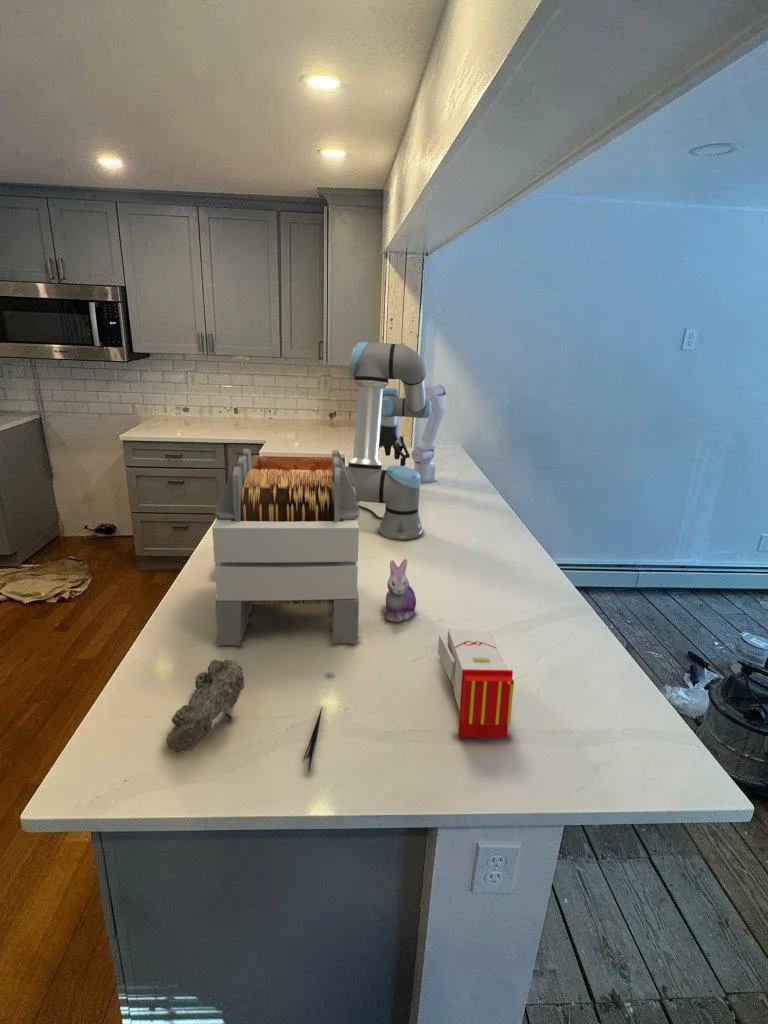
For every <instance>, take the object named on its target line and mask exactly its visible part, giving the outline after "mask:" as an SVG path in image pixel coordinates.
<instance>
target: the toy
mask: <svg viewBox="0 0 768 1024" xmlns="http://www.w3.org/2000/svg"><path fill="white" fill-rule="evenodd" d="M446 640H447V643H446V641H445V639H444V636H443V635H442V634H439V637H438V646H437V656H438V657H439V659H440V661H441V663H442V666H443V668H444V670H445V672H446V674H447V677H448V679H449V681H450V684H451V687H452V690H453V693H454V697H455V701H456V705H457V708H458V711H459V714H458V715H459V716H458V730H457V731H458V732H457V737H458V738H508V731H509V726H510V725H511V717H512V707H513V697H514V696H513V695H514V684H515V680H514V679H513V673H514V671H513V670H512V669H508V667H507V665H506V662H505V661H504V659H503V658H502V655H501V653H500V651H499V649H498V647H497V643H496V639H495V637H494V635H493V634H491V632H490V631H489V629H467V628H466V629H465V628H463V629H461V628H460V629H459V628H448V630H447V639H446Z"/></svg>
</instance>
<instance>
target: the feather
mask: <svg viewBox="0 0 768 1024" xmlns="http://www.w3.org/2000/svg"><path fill="white" fill-rule="evenodd" d="M329 675H330V676H331V675H332V674H331V673H330V674H329ZM322 710H323V707H321V708H320V710H319V713H318V716H317V719H316V723H315V725H314V728H313V731H312V733H311V737H310V739H309V742H308V745H307V748H306V751H305V754H304V757H303V760H302V763H301V767H302V765H303V763H304V761H305V758H308V759H309V760H308V762H307V763H308V764H307V766H308V771H310V770H311V766H312V765H311V764H312V760H313V757H315V756H314V755H315V751H316V749H315V746H317V739H318V733H319V729H320V722H321V717H322V712H323V711H322ZM313 754H314V755H313ZM306 755H307V757H306Z"/></svg>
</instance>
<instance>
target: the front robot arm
mask: <svg viewBox="0 0 768 1024" xmlns="http://www.w3.org/2000/svg"><path fill="white" fill-rule="evenodd" d="M426 367H427V366H426V364H425V362H424V360H423V358H422V357H421V356H420V355H419V353H418V352H416V351H415V350H414V349H413V348H411V347H410V346H408V345H406V344H402V343H391V342H390V343H389V342H378V341H377V342H376V341H364V342H358V343H356V344H355V346H354V347H353V349H352V353H351V356H350V361H349V375H350V377H352V378H353V382H354V384H355V385H356V387H357V399H356V413H355V414H356V415H355V427H354V441H353V443H354V444H353V456H352V457H351V459H350V460H349V461H348V466H345V467H346V469H347V471H348V473H349V475H350V478H351V480H352V482H353V484H354V486H355V492H356V497H357V501H358V503H360V502H362V503H375V504H384V505H385V507H384V508H385V509H384V513H383V515H382V516H378V515H377V514H376V513H375V511H373V510H372V509H370V508H368V507H365V506H362V505H360V504H358V507H359V509H362V510H364V511H367V512H369V513H370V514H372V516H374V518H375V519H378V520H381V522H379V525H378V533H379V534H380V535H381V536H382V537H385V538H387V539H389V540H395V541H410V540H415V539H418V538H420V537H421V536H422V535H423V525H422V521H421V518H420V515H419V507H420V506H419V505H420V504H419V503H420V489H421V483H420V475H419V473H418V472H417V471H415V470H414V468H411V467H409V466H406V459H410V458H411V455H410V453H409V450H408V448H407V446H406V444H405V440H404V437H403V435H399V437H397V436H396V431H397V426H396V424H397V416H401V418H402V417H404V418H415V419H429V417H430V413H431V410H432V409H431V401H430V400H428V399H425V390H424V387H425V378H426V376H427V368H426ZM389 380H400V381H401V382H402V385H403V391H404V396H405V398H401V397H399V390H398V388H394V387H388V384H389ZM397 440H399V442H401V444H402V446H403V450H402V451H401V450H400V449H399V448H398V446H397V445H396V444H395V442H396V441H397ZM386 446H388V447H391V448H392V447H393V446H394V448H395V449H396V450H397V451H398V453H399V454H400V461H399V462H400V463H399V465H398V464H397V465H389V466H387V468H386V469H383V464H382V462H381V461H380V460H379V450H380V448H382V447H383V448H384V447H386ZM394 448H393V449H394ZM403 451H404V452H403ZM404 453H405V454H404ZM293 467H294V468H295V470H301V469H300V468H299V467H298V466H297V465H296V464H293Z"/></svg>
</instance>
